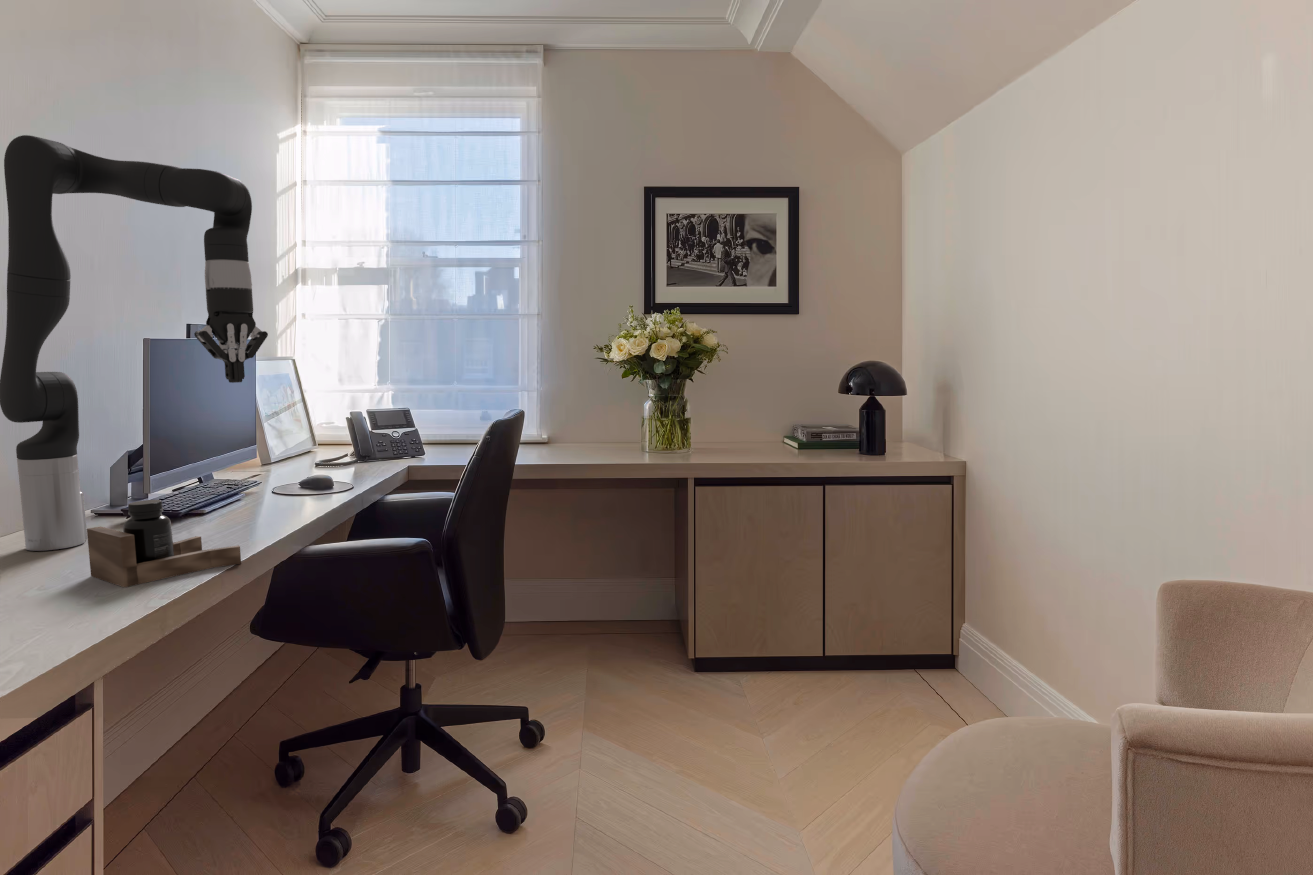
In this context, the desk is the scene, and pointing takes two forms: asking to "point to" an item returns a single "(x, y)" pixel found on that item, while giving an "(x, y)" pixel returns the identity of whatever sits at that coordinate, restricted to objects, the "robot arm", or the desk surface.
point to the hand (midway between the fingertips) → (235, 382)
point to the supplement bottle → (149, 530)
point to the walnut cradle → (118, 561)
